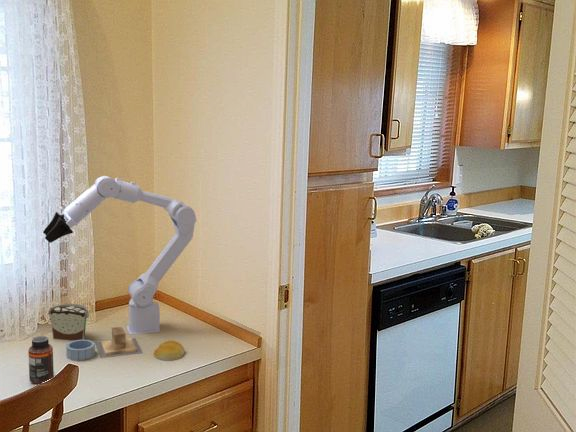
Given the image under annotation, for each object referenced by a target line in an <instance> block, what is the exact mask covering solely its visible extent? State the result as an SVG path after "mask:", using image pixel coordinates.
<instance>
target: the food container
mask: <svg viewBox="0 0 576 432" xmlns="http://www.w3.org/2000/svg"><path fill="white" fill-rule="evenodd" d="M47 315H48V316H49V317H50V326H51V333H52V339H53V340H62V341H63V340H64V341H75V340H83V339H84V340H85V339H86V337H85V336H86V327H87V319H88V318H89V317H90V312H89V310H88V307H87V306H85V305H82V304H77V303H68V304H67V303H64V304H57V305H54V306H51V307H50V308H49V310H48V313H47Z"/></svg>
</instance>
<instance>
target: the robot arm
mask: <svg viewBox="0 0 576 432" xmlns="http://www.w3.org/2000/svg"><path fill="white" fill-rule="evenodd" d="M108 198H109V199H110V198H113V199H116V200H120V201H124V202H127V203H132V204H135V203H137V202H139V201H140V202H144V203H147V204H151V205H154V206H157V207H161V208H163V209H164V210H165V211H166V212H168V215H169V217H170V219H171V222H173V227H174V232H175V234H174V235H172V236H173V237H171V239H170V240H169V242H168V243H167V244H166V246H164V248H163V249H162V251H161V252H160V253H159V254H158V256H157V257H156V258H155V260H154V262H153V263H151V265H150V266H149V267H148V269H147V270H146V271H145V272H144V273H142V274H140V276H138V278H136V279H135V280H133V281H132V282H130V284H129V285H128V288H127V292H128V294H129V296H130V299H129V302H128V325H125V328H126V330H127V331H128V334H129V335H130V336H133V335H142V334H150V333H152V334H153V333H160V331H161V330H160V326H161V325H160V323H161V322H160V321H161V320H160V319H161V318H160V317H161V316H160V315H161V314H160V313H161V312H160V310H161V309H160V304H159V302H157V301H155V302H154V301H153V300H154V296H155V295H156V292H157V291H158V288H159V283H160V281H162V279H163V277H164V276H165V275H166V274H167V273H168V271H169V270H170V268H171V267H172V266H173V264H174V263H175V262H176V261H177V259H178V258H179V256H180V255H181V254H182V253H183V251H184V250H185V249H186V247H187V246H188V245H189V243H190V242H191V241H192V240H193V237H194V230H195V224H196V222H197V216H196V213H195V211H194V209H193V208H192V207H191V206H189V205H187V204H186V203H184V202H182V201H179V200H177V199H174V198H173V197H169V196H167V195H161V194H158V193H153V192H149V191H144V190H142V189H141V187H140V185H138V184H136V182H134V181H130V182H127V181H123V180H120V178H119V177H115V179H114V178H112V177H110V176H107V175H102V176H100V177H97V178H96V179H95V181H94V184H92V185H91V186H90V187H89V188H88V189H86V190H85V191H84V192H83V193H81V194H80V195H79V196H78V197H77V198H75V199H74V200H73V201H72V202H71V203H70V204H68V205H67V206H66V207H65V208H63V207H62V206H60V207H59V210H60V211H61V214H60V213H58V212H57V211H55V213H54V215H53V218H52V219H51V221H50V222H49V223H48V225H47V226H46V227H45V228H44V230H43V231H42V233H43V234H44V235H45V237H44V239H45V240H46V241H47V242H48V243H49V244H51V243H53V242H55V241H57V240H58V239H61V238H62V237H64V236H67V235H71V234H73V233H74V231H73V229H72V228H73V227H74V226H78V225H79V223H81V221H83V220H84V219H85V218H86V217H88V215H89V214H91V212H93V211H94V210H95V209H96V208H97V207H99V206H100V205H101V204H102V203H103V202H104V201H105V200H106V199H108Z"/></svg>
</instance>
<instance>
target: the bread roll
mask: <svg viewBox="0 0 576 432" xmlns="http://www.w3.org/2000/svg"><path fill="white" fill-rule="evenodd" d="M184 354H185V348H184V345H183V344H182V343H180V342H178V341H176V340H166V341H164V342H162V343H160V345H158V347H157V348H155V350H154V352H153V356H154V357H155V358H156V359H158V360H160V361H174V360H175V361H176V360H178V359H181V358H182V357H183V355H184Z"/></svg>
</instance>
